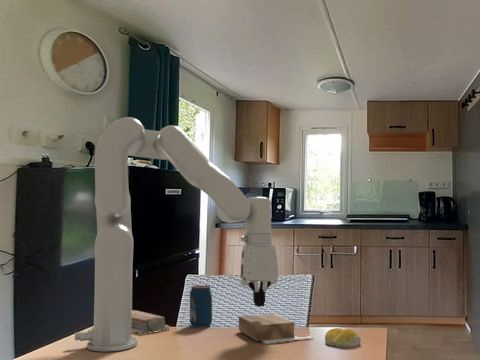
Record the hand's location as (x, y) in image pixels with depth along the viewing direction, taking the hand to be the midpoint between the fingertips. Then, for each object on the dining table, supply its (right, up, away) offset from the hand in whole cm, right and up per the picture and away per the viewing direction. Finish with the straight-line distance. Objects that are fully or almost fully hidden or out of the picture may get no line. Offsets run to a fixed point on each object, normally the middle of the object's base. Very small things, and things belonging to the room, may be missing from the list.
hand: (259, 305), depth 129 cm
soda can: (-18, -10, +14) cm, 25 cm away
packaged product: (-36, -11, +12) cm, 39 cm away
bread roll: (+21, -7, -10) cm, 25 cm away
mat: (+5, -8, +1) cm, 10 cm away
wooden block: (-3, -6, -2) cm, 7 cm away
